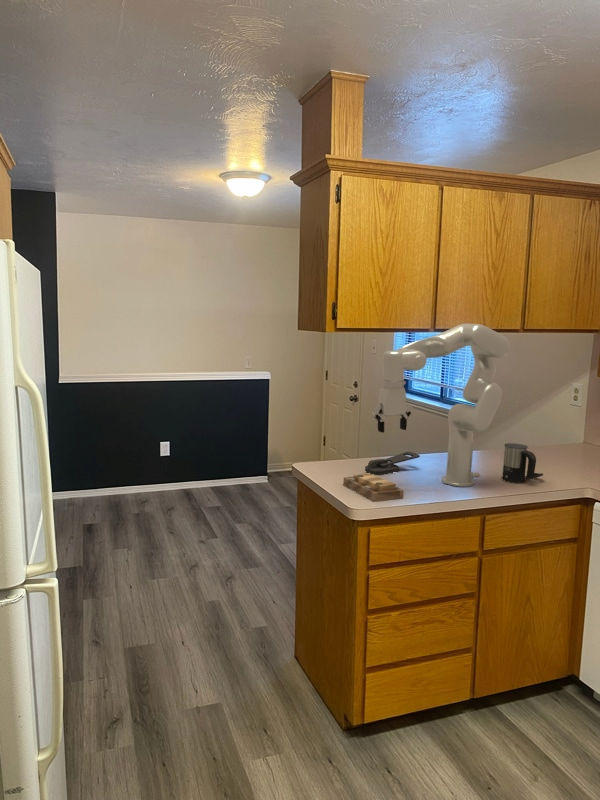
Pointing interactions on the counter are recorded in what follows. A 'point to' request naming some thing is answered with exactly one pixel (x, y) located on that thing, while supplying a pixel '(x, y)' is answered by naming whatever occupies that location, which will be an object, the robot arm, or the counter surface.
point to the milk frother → (518, 463)
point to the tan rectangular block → (374, 482)
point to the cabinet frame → (371, 494)
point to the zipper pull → (388, 464)
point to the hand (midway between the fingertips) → (392, 430)
